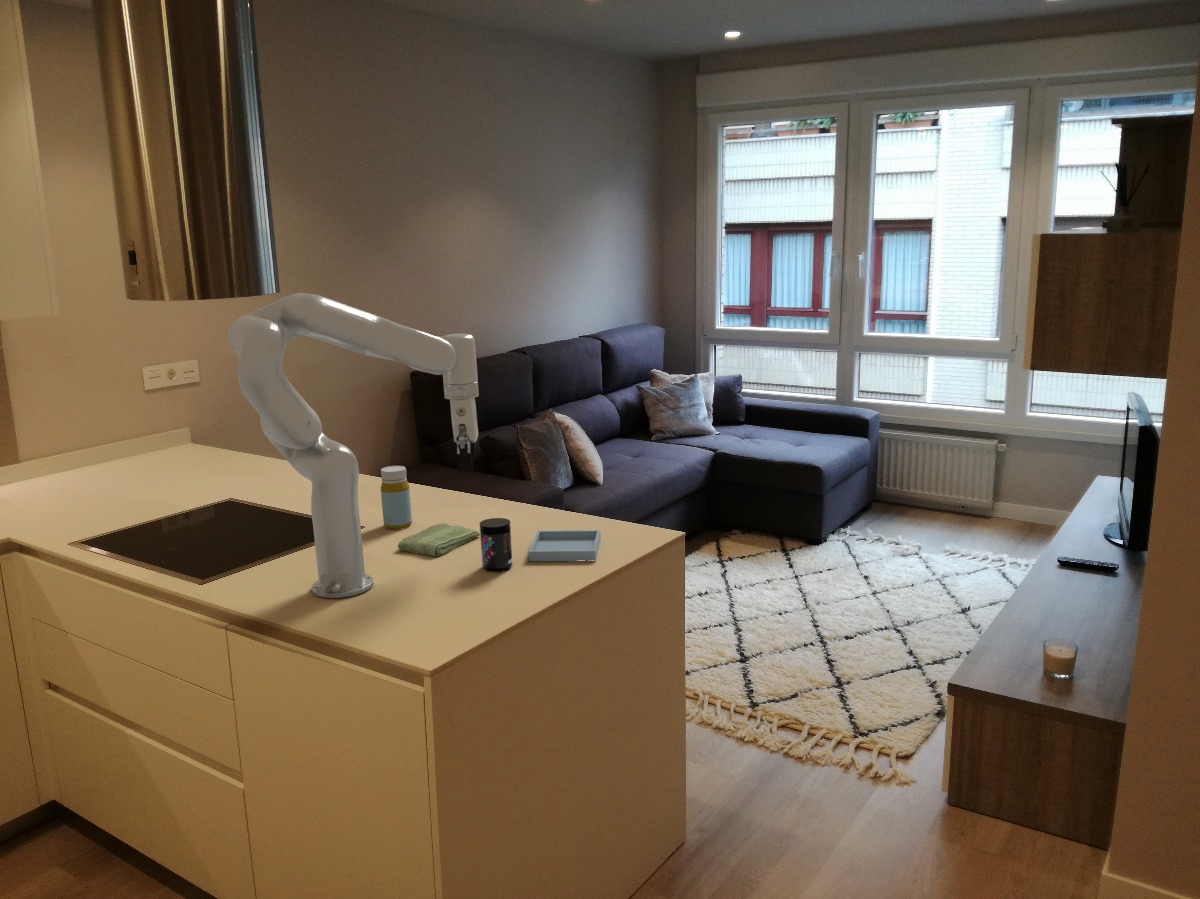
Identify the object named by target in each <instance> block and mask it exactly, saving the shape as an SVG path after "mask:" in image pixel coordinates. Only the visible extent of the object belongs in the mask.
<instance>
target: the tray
mask: <svg viewBox="0 0 1200 899" xmlns="http://www.w3.org/2000/svg"><path fill="white" fill-rule="evenodd" d="M601 535H602V534H601V529H590V530H588V529H586V530H585V529H583V530H582V529H581V530H579V529H578V530H577V529H576V530H575V529H574V530H573V529H572V530H570V529H569V530H568V529H567V530H566V529H565V530H537V531H536V532H535V536H534V538H533V540H532V543H531V544H530V548H529V550H528V562H529V561H568V562H578V561H577V560H585V561H584V562H589V561H588V560H595V561H594V562H597V558H596V557H598V554H597V553H599V550H600V545H599V544H601Z"/></svg>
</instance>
